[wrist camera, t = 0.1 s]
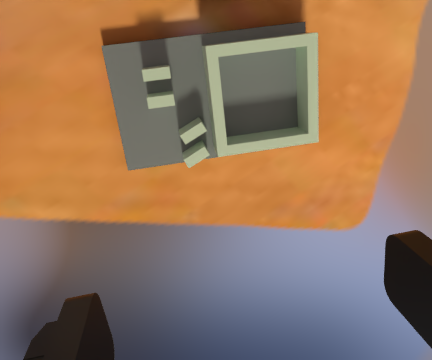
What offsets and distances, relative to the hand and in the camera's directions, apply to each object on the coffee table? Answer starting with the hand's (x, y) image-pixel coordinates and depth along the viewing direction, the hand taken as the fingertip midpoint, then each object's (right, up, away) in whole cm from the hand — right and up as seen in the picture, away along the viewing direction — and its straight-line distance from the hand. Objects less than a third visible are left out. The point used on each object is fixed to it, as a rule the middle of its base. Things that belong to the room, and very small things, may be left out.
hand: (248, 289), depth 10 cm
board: (-1, +11, +27) cm, 29 cm away
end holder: (+3, +12, +26) cm, 29 cm away
